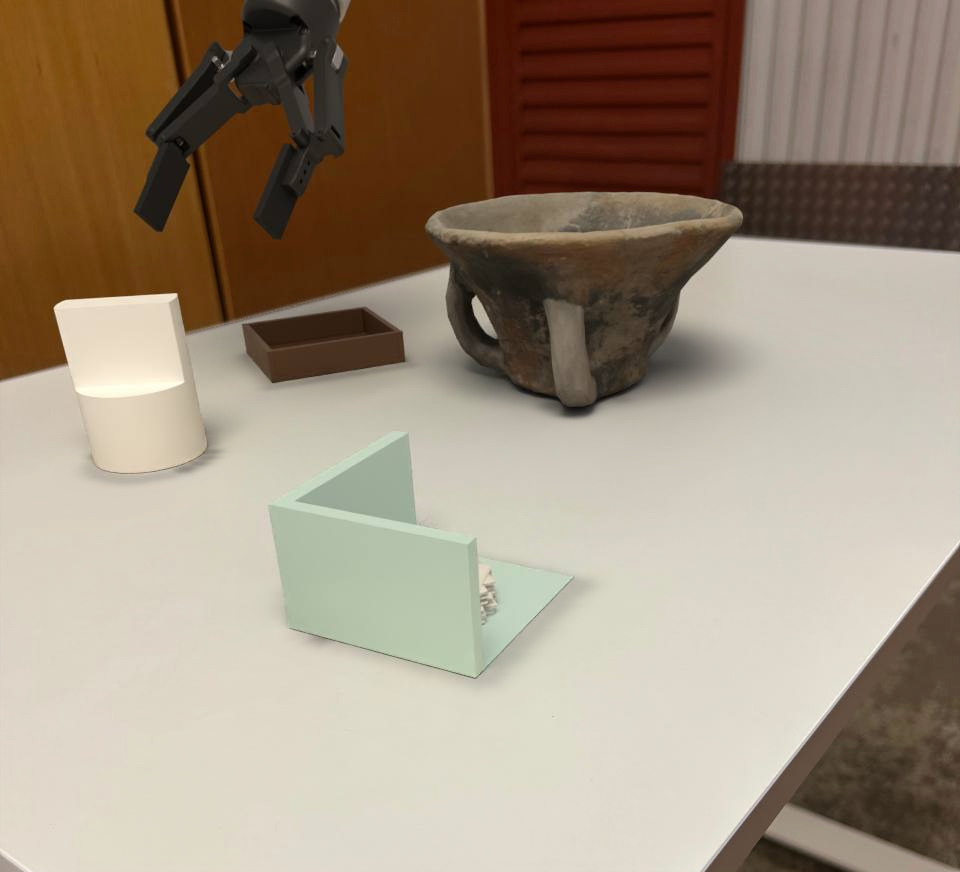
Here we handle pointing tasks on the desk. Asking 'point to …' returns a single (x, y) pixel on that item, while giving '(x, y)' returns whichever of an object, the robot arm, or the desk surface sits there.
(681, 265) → the bowl
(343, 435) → the desk surface
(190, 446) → the base with upright slab
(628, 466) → the desk surface
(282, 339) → the tray
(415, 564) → the l-shaped corner panel
